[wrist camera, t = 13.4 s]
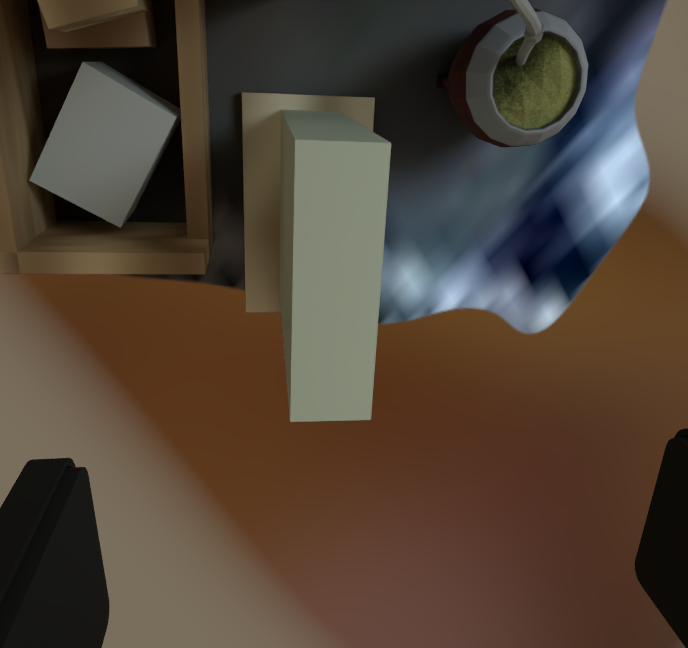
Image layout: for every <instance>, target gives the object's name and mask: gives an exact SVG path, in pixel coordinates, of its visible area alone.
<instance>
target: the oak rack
mask: <svg viewBox="0 0 688 648" xmlns="http://www.w3.org/2000/svg"><path fill="white" fill-rule="evenodd" d="M175 15H176V34H177V52H178V71H179V90H180V108H181V127H182V145H183V164H184V182H185V201H186V219H187V223H186V222H125V223H124V224H123V225H122V226H121V228H120V227H118V226H116V225H114V224H112V223H110V222H108V221H57V219H56V212H55V205H54V197H53V193H52V192H50V191H49V190H47V189H45V188H43V187H41V186H39V185H37V184H35V183H33V182H31V181H29V180H30V178H31V176H32V173H33V171H34V169H35V167H36V164H37V162H38V160H39V158H40V156H41V153H42V151H43V149H44V147H45V144H46V138H45V130H44V123H43V116H42V108H41V101H40V93H39V86H38V79H37V71H36V64H35V56H34V49H33V42H32V34H31V27H30V19H29V12H28V4H27V0H0V274H206V270H207V266H208V262H209V258H210V254H211V250H212V246H213V242H214V233H213V207H212V180H211V154H210V127H209V100H208V74H207V47H206V20H205V0H175Z"/></svg>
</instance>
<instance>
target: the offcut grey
mask: <svg viewBox="0 0 688 648" xmlns="http://www.w3.org/2000/svg"><path fill="white" fill-rule="evenodd" d="M180 120H181V109H180V108H178V107H177V106H175V105H173V104H172V103H170V102H168V101H167V100H165V99H163V98H161V97H160V96H158V95H156V94H155V93H153V92H151V91H150V90H148V89H146V88H145V87H143V86H141V85H140V84H138V83H136V82H135V81H133V80H131V79H130V78H128V77H126V76H125V75H123V74H121V73H120V72H118V71H116V70H115V69H113V68H111V67H110V66H108V65H106V64H105V63H103V62H82V64H81V66H80V69H79V71H78V73H77V75H76V78H75V80H74V82H73V84H72V86H71V89H70V91H69V93H68V95H67V98H66V100H65V102H64V104H63V107H62V109H61V111H60V113H59V115H58V118H57V120H56V122H55V124H54V127H53V129H52V131H51V133H50V136H49V138H48V140H47V142H46V144H45V147H44V149H43V151H42V153H41V156H40V158H39V160H38V162H37V164H36V167H35V169H34V171H33V173H32V176H31V178H30V180H29V181H31V182H33V183H35V184H37V185H39V186H41V187H43V188H45V189H47V190H49V191H50V192H52V193H54V194H56V195H58V196H60V197H62V198H64V199H66V200H68V201H70V202H72V203H74V204H75V205H77V206H79V207H81V208H83V209H85V210H87V211H89V212H91V213H93V214H95V215H97V216H99V217H101V218H102V219H104V220H106V221H108V222H110V223H112V224H114V225H116V226H118V227H120V228H121V226H122V225H123V224H124V223H125V222H126V220H127V219H128V218H129V217H130V216H131V214H132V213H133V212H134V211H135V209H136V207H137V205H138V203H139V201H140V199H141V197H142V195H143V193H144V191H145V189H146V187H147V185H148V183H149V181H150V179H151V177H152V175H153V173H154V171H155V169H156V167H157V165H158V163H159V162H160V160H161V158H162V156H163V154H164V152H165V150H166V148H167V146H168V144H169V142H170V140H171V138H172V136H173V134H174V132H175V130H176V128H177V126H178V124H179V122H180Z"/></svg>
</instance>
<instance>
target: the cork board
mask: <svg viewBox="0 0 688 648" xmlns="http://www.w3.org/2000/svg"><path fill="white" fill-rule="evenodd" d="M374 105H375V98H373V97H349V96H325V95H300V94H276V93H251V92H242V129H243V184H244V239H245V294H246V312H247V313H249V312H281V309H280V298H279V285H280V172H281V109H284V110H308V111H331V112H341V113H343V114H345V115H346V116H348V117H350V118H351V119H353V120H354V121H356V122H358V123H359V124H361V125H363V126H364V127H366V128H368V129H369V130H371V131H372V132H373V122H374Z"/></svg>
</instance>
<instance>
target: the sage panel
mask: <svg viewBox="0 0 688 648" xmlns="http://www.w3.org/2000/svg"><path fill="white" fill-rule="evenodd" d="M390 154H391V143H390V142H389V141H387V140H386V139H384V138H382V137H381V136H379V135H377V134H376V133H374V132H372V131H371V130H369V129H368V128H366V127H364V126H363V125H361V124H359V123H358V122H356V121H354V120H353V119H351V118H350V117H348V116H346V115H345V114H343V113H341V112H331V111H308V110H284V109H281V172H280V285H279V298H280V309H281V319H282V332H283V343H284V355H285V367H286V378H287V390H288V400H289V413H290V422H297V421H298V422H300V421H340V420H371V410H372V396H373V383H374V368H375V356H376V342H377V329H378V316H379V302H380V289H381V275H382V262H383V248H384V235H385V221H386V208H387V195H388V181H389V168H390Z"/></svg>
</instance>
